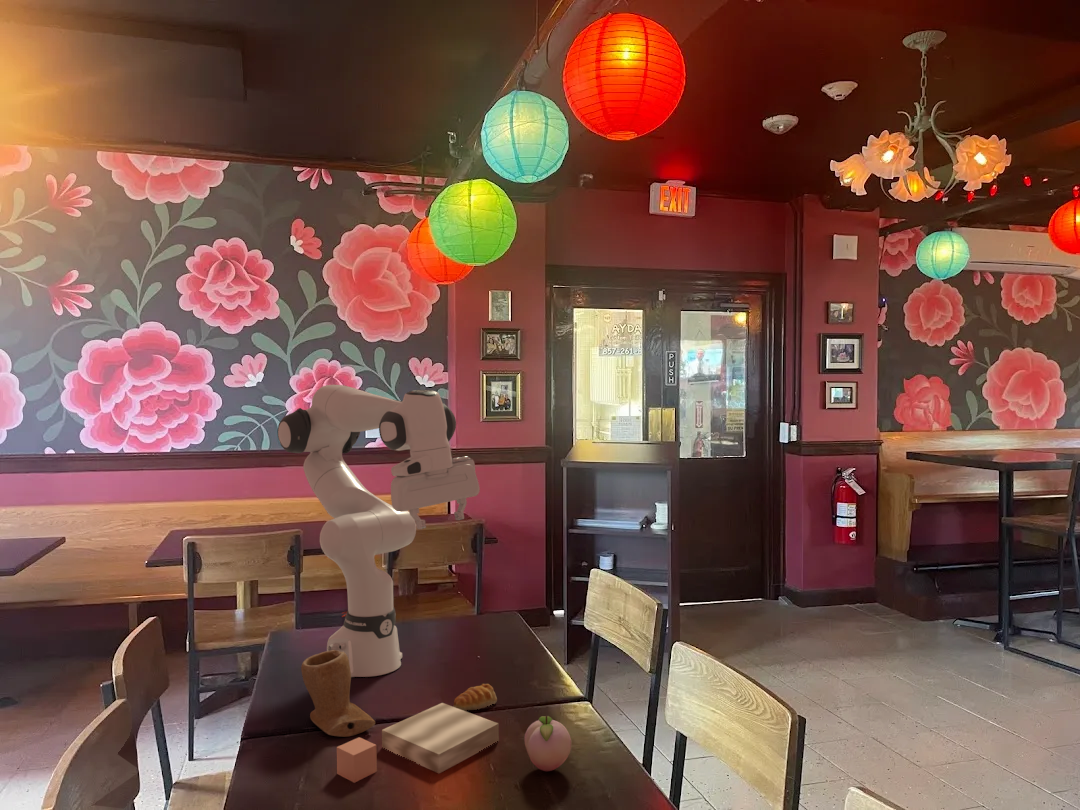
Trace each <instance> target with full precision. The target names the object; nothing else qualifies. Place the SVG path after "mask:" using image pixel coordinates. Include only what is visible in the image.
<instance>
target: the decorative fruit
mask: <svg viewBox="0 0 1080 810" xmlns="http://www.w3.org/2000/svg"><path fill="white" fill-rule="evenodd" d="M524 745H525V749H526V752H527V755H528V757H529V759H530V761H531V763H532V764H533V766H535V767H536V768H537V769H538V770H541V771H543V772H552V771H554V770H556V769H558V768H559V767H561V766H562V765H563V764H564V763H565V762H566V760H567V759H568V757H569V756H570V753H571V750H572V739H571V735H570V733H569V731H568V729H567V728H566V727H565V726H564V724H562V723H561V722H560V721H557V720H554V719H553V718H552V717H551V716H549V715H545V716H540V717H539V718H538V720H535V721H534V722H532V723H531V724H530V725H529V726H528V728H527V729H526V731H525V733H524Z"/></svg>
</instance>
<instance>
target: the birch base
mask: <svg viewBox="0 0 1080 810" xmlns="http://www.w3.org/2000/svg"><path fill="white" fill-rule="evenodd" d="M499 730H500V729H499V722H496V721H493V720H490V719H487V718H485V717H482V716H480V715H476V714H474V713H471V712H469V711H463V710H461V709H458V708H455V707H453V706H452V705H449V704H447V703H444V702H441V703H438V704H436V705H434V706H431V707H430V708H427V709H425V710H422V711H421V712H419V713H416V714H414V715H412V716H410V717H407V718H405V719H403V720H401V721H399V722H396V723H394V724H392V725H390V726H387V727H385V728H383V729H382V730H381V742H382V743H381V748H382V747H383V748H382V749H384V748H385V749H384V750H386V749H387V750H386V751H388V750H389V752H390V751H391V753H392V752H393V753H392V754H395V755H397V754H398V755H397V756H399V755H400V756H399V757H401V756H402V758H403V757H405V758H404V759H406V758H407V759H406V760H408V759H409V760H408V761H410V760H411V762H412V761H414V762H416V763H415V764H417V765H419V764H420V765H419V766H421V767H424V768H425V769H428V770H429V771H433V772H434V773H436V774H441V773H443V772H444V771H446V770H449V769H450V768H452V767H455V766H456V765H457V764H460V763H461V762H463V761H465V760H467V759H469V758H470V757H473V756H474V755H476V754H478V753H479V751H480V752H482V751H483V749H484V748H485V749H487V748H489V747H491V746H493V745H494V744H493V743H495V742H496V743H498V742H499V741H500V737H499V736H500V735H499ZM497 741H498V742H497ZM496 743H495V744H496ZM492 744H493V745H492ZM490 745H491V746H490ZM488 746H489V747H488ZM486 747H487V748H486ZM485 749H484V750H485ZM481 750H482V751H481ZM414 762H413V763H414Z"/></svg>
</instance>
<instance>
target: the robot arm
mask: <svg viewBox="0 0 1080 810" xmlns="http://www.w3.org/2000/svg"><path fill="white" fill-rule="evenodd" d="M442 400H443V399H442V398H441V395H440V393H439V392H437V391H436V390H432V389H417V390H416V389H415V390H414V389H413V390H410V391H407V392H405V393H404V395H403V400H397V399H393V398H389V397H386V396H382V395H379V394H375V393H374V394H373V393H372V392H371V393H370V392H367V391H365V390H362V389H358V388H355V387H351V386H348V385H342V384H328V385H327V384H326V385H323V386H321V387H320V388H318V389H317V390H316V392H315V393H313V397H312V399H311V406H310V407H309V408H307V409H302V408H301V407H299V408H298V409H296V410H294V411H293V412H291V413H289V414H286V415H285V416H284V417H282V418H281V420H280V421H279V423H278V426H277V438H278V441H279V444H280V446H281V448H283V449H284V451H286V452H287V453H291V454H292V453H293V454H303V453H309V454H308V455H307V456H306V458H305V459H304V462H303V472H304V475H305V478H306V480H307V482H308V484H309V487H310V488H311V490H312V492H313V494H314V495H315V496H316V498H317V499H318V501H319V502H320V503H321V506H322V507H323V508H324V510H325V511H326V512H327V514H328V515H329V516H330V517H331V518H332V519H330V520H327V521H326V522H325V523H324V524H323V525H322V527H321V530H320V533H319V545H320V547H321V550H322V553H324V555H325V556H326V558H328V559H330V560H332V561H333V562H334V563H335V564H336V565H337V566H338V567H339V569H340V570H341V572H342V574H343V576H344V579H345V584H346V590H347V610H346V611H344V612H341V614H343V615H341V618H344V621H343V625H342V626H341V627H340V628H339V629H338V630H336V631H335V632H334V633H333V634H331V636H330V637H329V638H328V640H327V644H326V651H331V650H337V651H340V652H345V653H346V655H347V657H348V659H349V665H350V671H351V678H355V677H356V678H357V677H360V678H361V677H363V678H364V677H365V678H368V677H369V678H370V677H377V676H382V675H386V674H390V673H392V672H394V671H396V670H398V669H399V668H400V667H401V665H402V662H401V659H403V652H401V651H400V643H399V636H398V628H397V626H396V625H395V624H396V616H397V615H396V609H395V607H394V581H393V578H392V577H391V575H390V574H389V573H388V572H386V571H385V570H382V569H380V568H378V567H377V565H376V561H375V560H376V559H375V556H376V555H381V554H387V553H391V552H395V551H398V550H400V549H402V548H404V547H407V546H409V545H410V544H411V543H413V541H414V539H415V537H416V533H417V530H422V529H426V528H427V525H426V520H425V519H421V517H420V516H419V514H420V509H421V508H426V507H430V506H435V505H440V504H444V503H449V502H453V501H456V503H457V504H458V507H457V510H456V511H455V512H453V516H454V520H455V521H461V520H464V519H465V514H464V511H465V509H466V506H467V504H468V503H467V498H473V497H477V496H478V495H479V493H480V489H481V488H480V483H479V480H478V477H477V474H476V473H477V472H476V465H475V464H476V463H475V461H474V459H473V458H471V457H469V456H462V457H454V458H453V457H452V449H451V444H450V441H451V439H452V438H453V436H454V434H455V432H456V428H457V419H456V416H455V414H454V413H453V411H452V410H451V409H450V408H449V407H448V406H447V405H446V404H445V403H443V401H442ZM371 430H378V431H379V432H378V433H379V437H380V440H381V441H382V443H383V445H385V446H386V448H387V449H389V450H391V451H406V450H409V454H410V457H408V458H406V459H405V460H403V461H401V462H399V463H396V465H394V466H392V467H391V468H390V472H391V475H392V476H393V477H394V478H393V479H392V481H391V482H390V483H391V484H390V501H391V504H390V503H388V502H386V501H385V500H382V499H381V498H380V497H378V496H376V495H375V494H373V492H370V491H369V490H368V489H367V488H366V487H365V486H364V485H363V484H362V482H361V481H360V480H359V479H358V477H357V475H356V474H355V473H354V472H353V470H352V469H351V468H350V467H349V465H348V464H347V463H346V462H345V460H344V458H343V455H344V454H345V455H346V454H348V453H350V452H351V451H352V449H353V446H354V445H355V444H356V443H357V441H358V439H359V438H360V436H361V433H362V432H367V431H371Z"/></svg>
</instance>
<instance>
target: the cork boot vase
mask: <svg viewBox="0 0 1080 810" xmlns="http://www.w3.org/2000/svg"><path fill="white" fill-rule="evenodd" d="M300 668H301V675H302V680H303V683H304V686H305V687H306V690H307V692H308V693H309V695H310V698H311V701H312V703H313V706H314V710H313V709H312V711H311V712H310V714H309V715H310V716H309V718H310V720H311V722H312V723H313V724H314V725H315V726H316V727H318V728H319V729H320V730H321V731H322V732H324V733H325V734H327V735H328V736H332V737H333V736H334V737H342V738H343V737H345V738H348V737H353V736H357V735H358V734H361V733H364V732H366V731H367V730H369V729H371V728H373V727H374V726H375V724H376V721H375V720H374V719H373V717H371V715H370V714H368V713H366V712H365V711H364V710H362V709H361V707H359V706H358V705H356V704H355V703H353V702H351V701H350V693H351V692H350V690H351V682H352V681H351V680H352V677H351V671H350V665H349V659H348V657H347V655H346V653H345V652H340V651H337V650H331V651H327V650H326V651H323V652H319V653H316V654H313V655H311V656H308V657H307V658H305V659H304V661H302V664H301V667H300Z"/></svg>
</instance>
